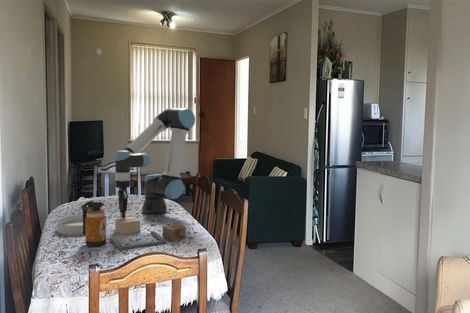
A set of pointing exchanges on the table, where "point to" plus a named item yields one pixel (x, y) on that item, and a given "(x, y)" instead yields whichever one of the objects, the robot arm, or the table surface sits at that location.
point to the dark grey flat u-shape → (157, 236)
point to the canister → (94, 223)
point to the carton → (127, 225)
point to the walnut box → (174, 232)
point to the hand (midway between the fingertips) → (123, 223)
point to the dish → (70, 225)
